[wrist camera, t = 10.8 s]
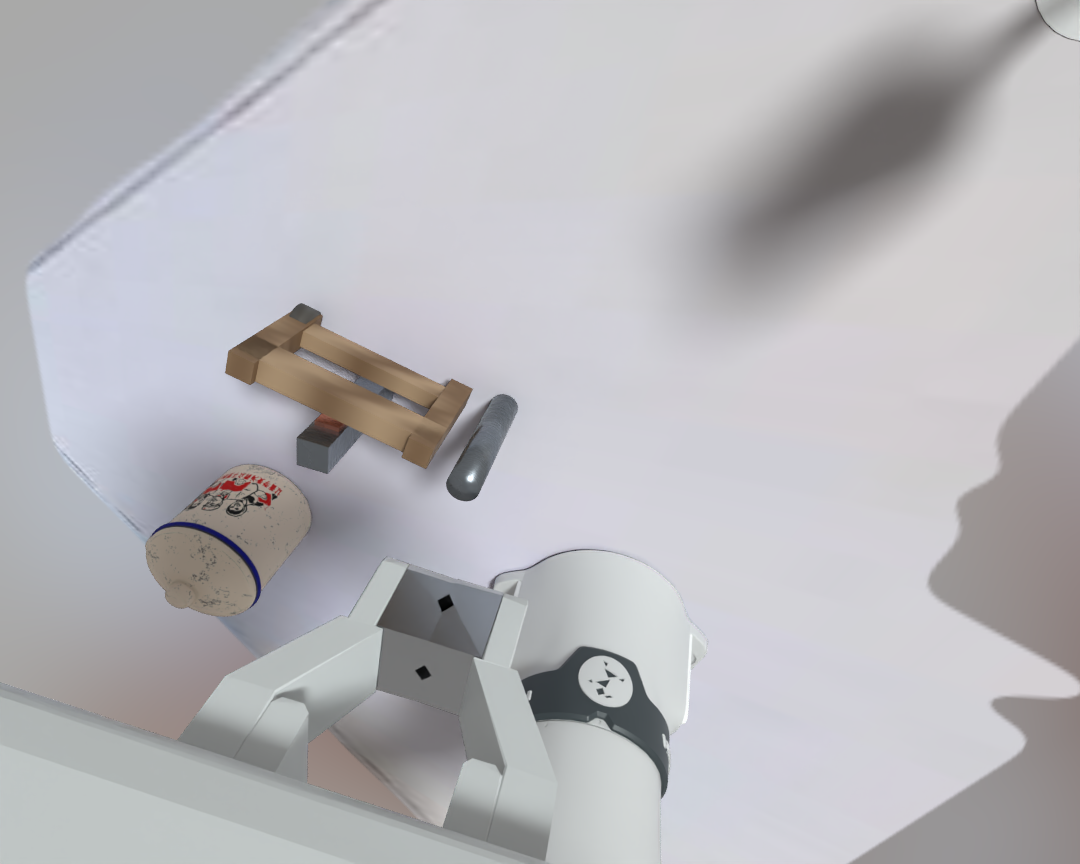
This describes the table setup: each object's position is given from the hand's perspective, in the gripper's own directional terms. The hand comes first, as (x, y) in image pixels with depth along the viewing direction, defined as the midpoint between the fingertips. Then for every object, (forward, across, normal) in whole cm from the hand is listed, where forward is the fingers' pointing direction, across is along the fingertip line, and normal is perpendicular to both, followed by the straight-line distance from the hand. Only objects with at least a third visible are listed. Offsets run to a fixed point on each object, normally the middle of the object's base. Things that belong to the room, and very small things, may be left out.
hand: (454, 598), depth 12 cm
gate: (+29, +13, +11) cm, 33 cm away
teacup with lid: (+29, +24, +30) cm, 48 cm away
